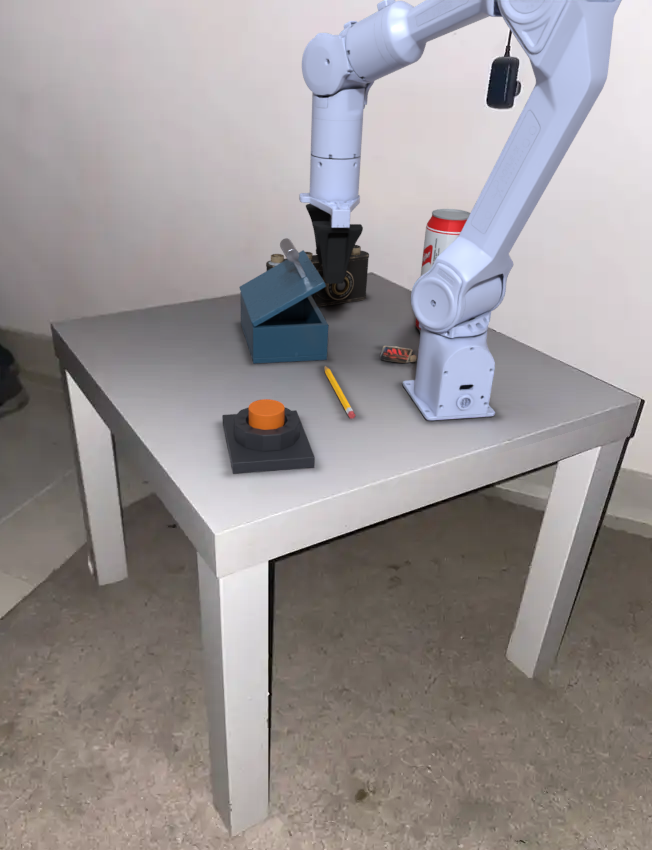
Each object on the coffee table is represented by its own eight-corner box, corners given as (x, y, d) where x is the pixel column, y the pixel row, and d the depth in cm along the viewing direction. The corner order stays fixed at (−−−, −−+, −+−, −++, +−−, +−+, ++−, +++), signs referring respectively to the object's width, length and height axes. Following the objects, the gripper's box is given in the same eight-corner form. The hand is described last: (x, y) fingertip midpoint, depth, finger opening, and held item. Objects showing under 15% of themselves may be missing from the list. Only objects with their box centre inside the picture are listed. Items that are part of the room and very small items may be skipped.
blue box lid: (305, 254, 104) (289, 223, 101) (326, 286, 93) (309, 252, 90) (241, 291, 105) (224, 261, 102) (254, 327, 94) (235, 295, 91)
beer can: (462, 326, 109) (478, 210, 101) (457, 342, 104) (474, 221, 96) (417, 320, 110) (430, 205, 102) (411, 336, 105) (424, 216, 97)
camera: (280, 320, 109) (281, 264, 105) (261, 305, 114) (261, 251, 110) (379, 305, 116) (384, 252, 111) (357, 291, 121) (360, 240, 116)
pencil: (348, 418, 85) (348, 413, 84) (321, 368, 96) (321, 363, 95) (355, 418, 85) (355, 412, 84) (327, 368, 96) (328, 363, 95)
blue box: (307, 321, 109) (308, 289, 106) (327, 360, 98) (328, 324, 95) (240, 324, 107) (240, 291, 105) (253, 363, 96) (253, 328, 94)
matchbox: (380, 363, 97) (381, 359, 97) (378, 347, 101) (378, 344, 101) (417, 364, 97) (418, 361, 97) (413, 348, 101) (414, 345, 101)
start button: (287, 430, 76) (287, 414, 76) (251, 432, 76) (250, 416, 75) (281, 413, 79) (281, 398, 79) (246, 415, 79) (246, 400, 78)
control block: (314, 467, 76) (315, 441, 74) (232, 473, 74) (232, 446, 73) (296, 419, 84) (296, 395, 82) (222, 424, 82) (221, 399, 81)
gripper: (295, 143, 94) (293, 255, 101) (306, 166, 81) (302, 292, 88) (353, 144, 94) (347, 255, 101) (372, 167, 82) (363, 292, 89)
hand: (330, 272), depth 95 cm, fingers open, 7 cm apart
